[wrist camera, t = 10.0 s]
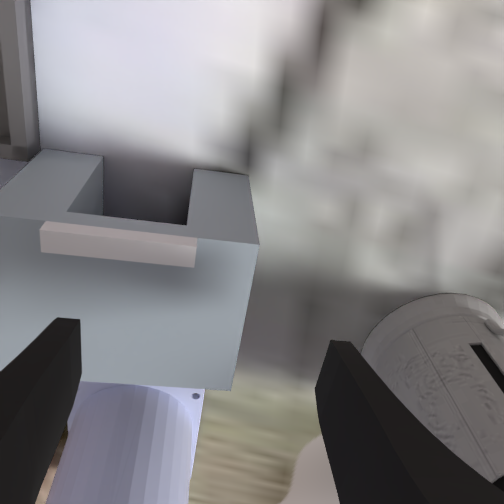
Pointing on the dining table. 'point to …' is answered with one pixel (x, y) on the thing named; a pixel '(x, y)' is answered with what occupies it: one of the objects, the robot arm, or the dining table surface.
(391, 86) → the dining table surface
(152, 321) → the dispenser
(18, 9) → the tray
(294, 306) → the dining table surface
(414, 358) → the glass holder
